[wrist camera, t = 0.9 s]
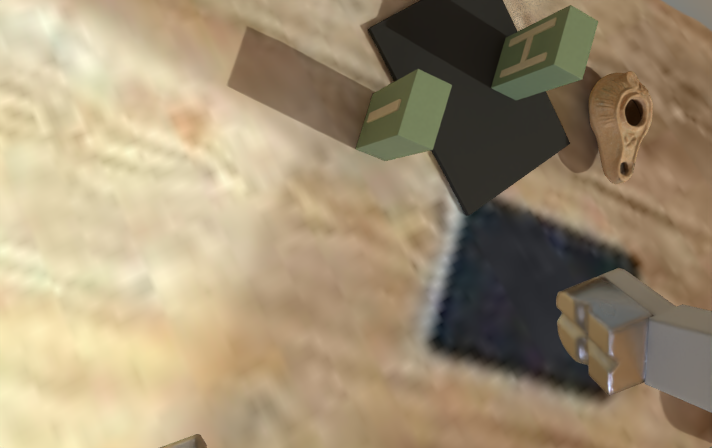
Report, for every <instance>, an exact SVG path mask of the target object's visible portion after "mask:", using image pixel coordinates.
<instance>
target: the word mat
mask: <svg viewBox="0 0 712 448" xmlns="http://www.w3.org/2000/svg"><path fill="white" fill-rule="evenodd" d="M368 31H369V33H370V35H371V37H372V39H373V41H374V43H375V44H376V46H377V48H378V50H379V52H380V54H381V56H382V58H383V60H384V61H385V63H386V65H387V67H388V69H389V71H390V73H391V75H392V76H393V78H394V80H395V81H397V80H399V79H400V78H402V77H404V76H406V75H408V74H409V73H411V72H413V71H415V70H417V69H420V70H422V71H424V72H426V73H428V74H430V75H432V76H434V77H436V78H438V79H440V80H443V81H445V82H447V83H449V84H451V85H452V87H451V90H450V94H449V97H448V100H447V104H446V107H445V110H444V114H443V117H442V120H441V124H440V127H439V130H438V134H437V137H436V140H435V144H434V147H433V150H432V152H433V154H434V156H435V158H436V159H437V161H438V163H439V165H440V167H441V169H442V171H443V173H444V174H445V176H446V178H447V180H448V182H449V184H450V186H451V188H452V190H453V191H454V193H455V195H456V197H457V199H458V201H459V203H460V205H461V207H462V208H463V210H464V212H465V214H466V215H470V214H472V213H473V212H475V211H476V210H477V209H479V208H480V207H482V206H483V205H484V204H486V203H487V202H489V201H490V200H491V199H493V198H494V197H496V196H497V195H499V194H500V193H501V192H503V191H504V190H506V189H507V188H508V187H510V186H511V185H513V184H514V183H515V182H517V181H518V180H520V179H521V178H522V177H524V176H525V175H527V174H528V173H529V172H531V171H532V170H534V169H535V168H536V167H538V166H539V165H541V164H542V163H544V162H545V161H546V160H548V159H549V158H551V157H552V156H553V155H555V154H556V153H558V152H559V151H560V150H562V149H563V148H565V147H566V146H567V145H569V144H570V142H569V140H568V138H567V136H566V133H565V131H564V129H563V127H562V125H561V123H560V121H559V119H558V116H557V114H556V112H555V110H554V108H553V106H552V104H551V102H550V100H549V97H548V95H547V93H546V91H544V92H541V93H538V94H535V95H532V96H529V97H525V98H522V99H519V100H514V99H512V98H510V97H508V96H506V95H504V94H502V93H500V92H498V91H496V90H494V89H492V88H491V86H492V83H493V79H494V76H495V73H496V69H497V66H498V62H499V59H500V55H501V52H502V49H503V45H504V42H505V38H506V37H508V36H510V35H512V34H514V33H516V32H517V30H516V28H515V26H514V23H513V21H512V19H511V17H510V15H509V13H508V11H507V9H506V7H505V4H504V2H503V0H421V1H419V2H417V3H415V4H413V5H411V6H409V7H408V8H406V9H404V10H402V11H400V12H398V13H396V14H395V15H393V16H391V17H389V18H387V19H385V20H383V21H381V22H380V23H378V24H376V25H374V26H372V27H370V28H369V29H368Z"/></svg>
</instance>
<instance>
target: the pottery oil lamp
mask: <svg viewBox="0 0 712 448" xmlns="http://www.w3.org/2000/svg"><path fill="white" fill-rule="evenodd" d="M652 106H653V105H652V99H651V97H650V95H649V94H648V90H647V89H646V88H645V86H644V85H642V84H641V83H640V82H639V80H638V78H637V76H636V74H635V73H634V72H632V71H629V72H627V73H625V74H624V73H613V74H609V75H607V76H605V77H603V78H601V79H600V80H599V81H598V82H597V83H596V84H595V86H594V88H593V89H592V91H591V94H590V97H589V103H588V107H589V115H590V124H591V128H592V130H593V132H594V133H595V135H596V139H597V143H598V148H599V152H600V158H601V163H602V168H603V171H604V174H605V176H606V177H607V178H608V179H609V181H610V182H612V183H614V184H621V183H623V182H626V181H627V180H628V179H629V178H630V177H631V175H632V173H633V170H634V166H635V161H636V157H637V153H638V150H639V147H640V143H641V141H642V139H643V137H644V136H645V135H646V133H647V132H648V130H649V128H650V125H651V123H652V114H653V112H652Z"/></svg>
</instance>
